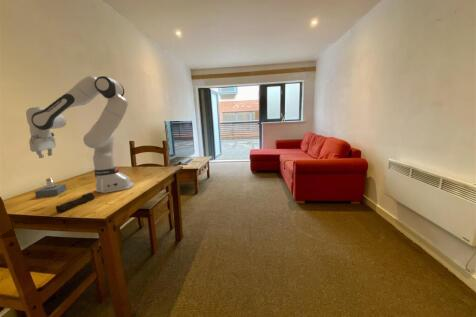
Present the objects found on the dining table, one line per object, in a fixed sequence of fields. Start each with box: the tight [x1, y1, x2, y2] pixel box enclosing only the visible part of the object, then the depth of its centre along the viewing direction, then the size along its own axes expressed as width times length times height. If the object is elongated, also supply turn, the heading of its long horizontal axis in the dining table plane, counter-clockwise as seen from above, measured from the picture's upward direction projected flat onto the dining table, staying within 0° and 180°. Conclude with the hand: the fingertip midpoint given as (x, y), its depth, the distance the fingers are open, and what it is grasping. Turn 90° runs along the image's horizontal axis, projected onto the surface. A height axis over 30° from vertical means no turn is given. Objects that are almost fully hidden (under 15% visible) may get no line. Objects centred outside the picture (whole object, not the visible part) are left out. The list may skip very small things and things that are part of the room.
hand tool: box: [55, 192, 95, 214], centre depth 110 cm, size 19×4×5 cm, turn 161°
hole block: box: [34, 183, 67, 199], centre depth 131 cm, size 11×11×4 cm
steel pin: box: [45, 177, 55, 189], centre depth 130 cm, size 3×3×10 cm
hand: (46, 156), depth 128 cm, fingers open, 8 cm apart
